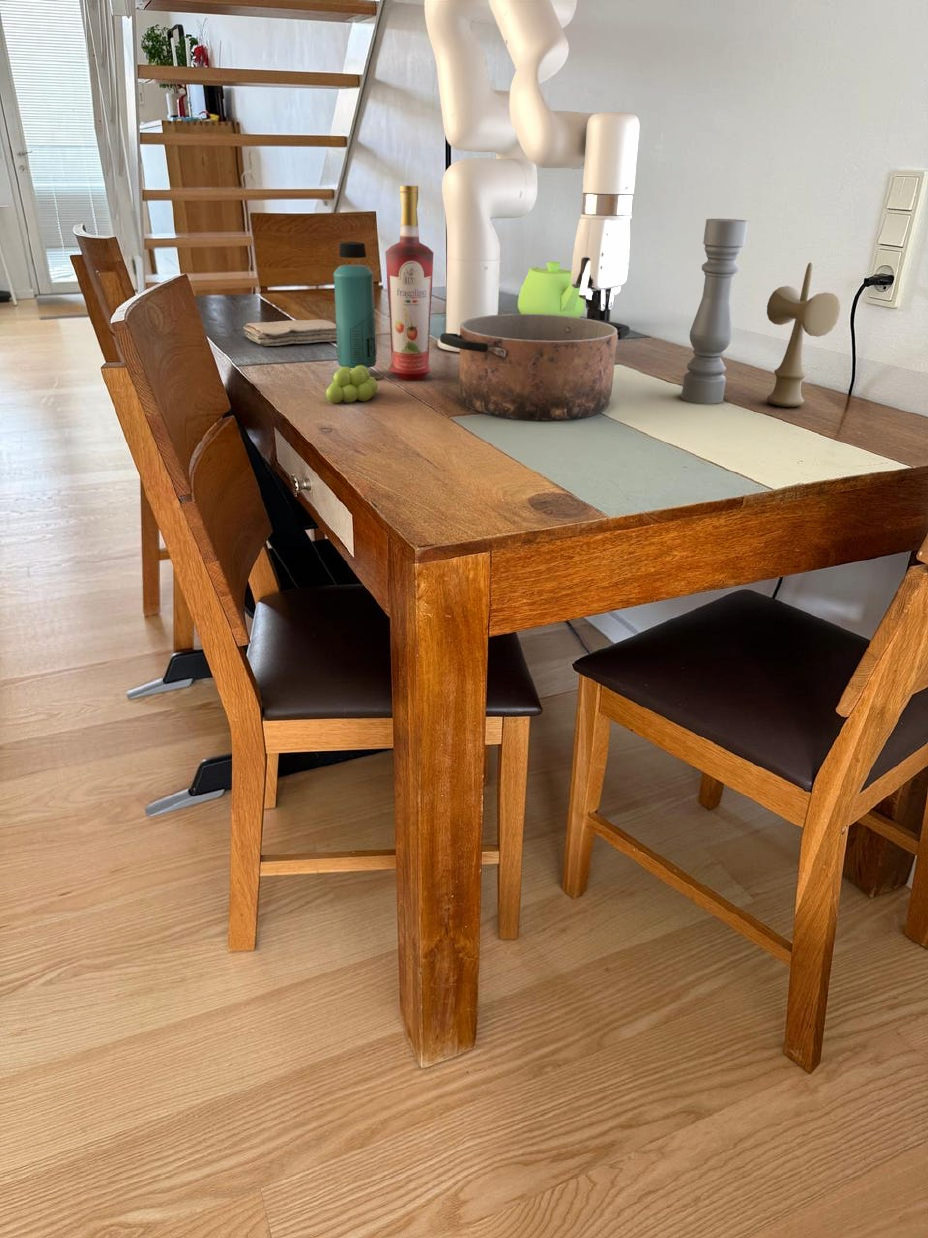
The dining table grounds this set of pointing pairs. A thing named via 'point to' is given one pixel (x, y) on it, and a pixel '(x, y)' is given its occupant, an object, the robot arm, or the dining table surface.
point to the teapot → (550, 293)
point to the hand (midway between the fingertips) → (596, 335)
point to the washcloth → (291, 332)
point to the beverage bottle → (354, 310)
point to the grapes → (352, 385)
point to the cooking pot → (536, 365)
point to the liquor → (409, 294)
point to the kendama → (799, 333)
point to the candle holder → (714, 312)
